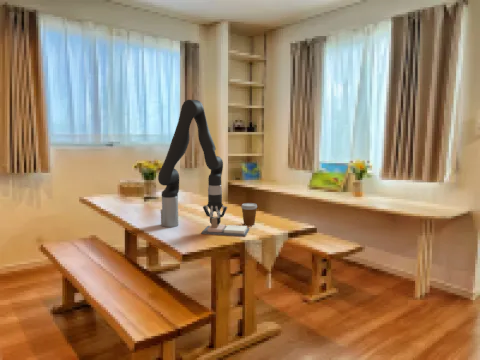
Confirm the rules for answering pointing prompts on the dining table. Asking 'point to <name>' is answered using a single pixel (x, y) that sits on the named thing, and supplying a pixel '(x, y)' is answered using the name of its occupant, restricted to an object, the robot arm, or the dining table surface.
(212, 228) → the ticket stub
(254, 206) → the disposable coffee cup
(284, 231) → the dining table surface
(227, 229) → the ticket base
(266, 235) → the dining table surface
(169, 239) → the dining table surface
